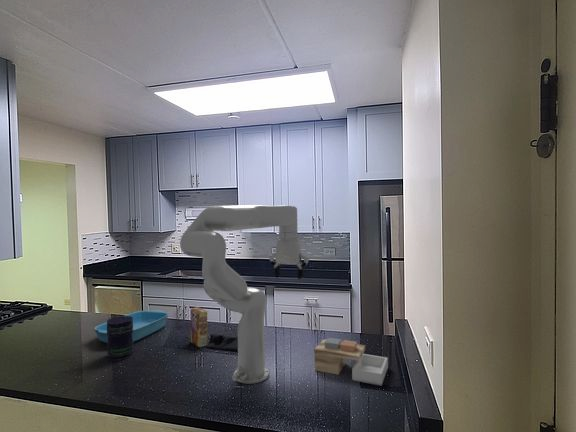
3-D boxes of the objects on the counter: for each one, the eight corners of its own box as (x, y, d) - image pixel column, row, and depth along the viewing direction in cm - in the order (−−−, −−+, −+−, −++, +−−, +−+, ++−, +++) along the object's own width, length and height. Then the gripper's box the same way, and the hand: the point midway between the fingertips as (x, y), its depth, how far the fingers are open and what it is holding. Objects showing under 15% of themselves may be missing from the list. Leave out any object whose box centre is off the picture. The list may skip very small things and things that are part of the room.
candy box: (208, 345, 153) (207, 311, 153) (199, 347, 150) (198, 312, 150) (199, 339, 160) (199, 306, 160) (190, 342, 157) (190, 308, 157)
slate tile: (337, 349, 127) (337, 344, 127) (324, 347, 129) (324, 342, 129) (341, 344, 131) (341, 339, 131) (328, 342, 134) (328, 337, 133)
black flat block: (246, 356, 142) (246, 344, 142) (202, 348, 151) (202, 337, 151) (263, 343, 156) (263, 332, 156) (222, 336, 165) (222, 326, 165)
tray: (381, 385, 116) (381, 374, 116) (352, 380, 120) (352, 368, 120) (387, 368, 129) (387, 357, 129) (361, 363, 133) (360, 353, 133)
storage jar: (123, 361, 137) (122, 324, 137) (101, 359, 139) (100, 322, 139) (138, 351, 147) (138, 316, 147) (118, 349, 149) (117, 315, 149)
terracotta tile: (353, 352, 124) (353, 346, 124) (340, 350, 126) (340, 344, 126) (356, 347, 129) (356, 341, 129) (343, 345, 131) (343, 339, 131)
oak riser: (358, 379, 121) (358, 356, 121) (314, 370, 128) (314, 349, 127) (365, 366, 131) (365, 345, 131) (323, 358, 138) (323, 339, 137)
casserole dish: (141, 320, 190) (141, 307, 190) (176, 324, 183) (176, 310, 183) (83, 345, 154) (83, 329, 154) (124, 351, 148) (124, 334, 148)
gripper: (265, 236, 141) (266, 278, 142) (305, 237, 135) (306, 280, 135) (272, 235, 148) (273, 274, 149) (311, 235, 142) (311, 277, 142)
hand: (289, 277), depth 142 cm, fingers open, 9 cm apart
